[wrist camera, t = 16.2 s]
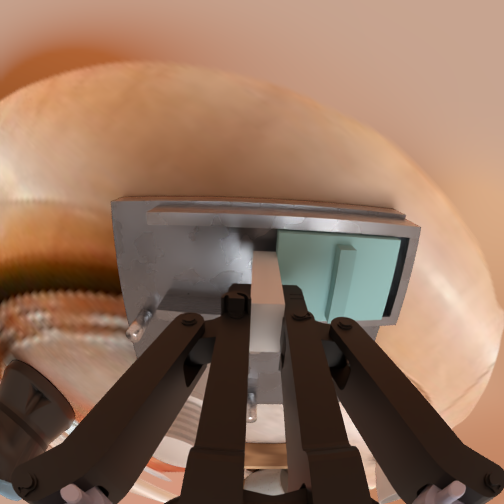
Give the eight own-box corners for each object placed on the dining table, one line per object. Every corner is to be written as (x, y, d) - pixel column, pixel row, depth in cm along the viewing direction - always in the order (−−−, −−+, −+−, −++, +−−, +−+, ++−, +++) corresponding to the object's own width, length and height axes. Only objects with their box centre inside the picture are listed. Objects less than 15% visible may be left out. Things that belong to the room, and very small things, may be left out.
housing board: (152, 379, 27) (139, 411, 22) (122, 196, 20) (89, 209, 15) (347, 387, 27) (357, 420, 22) (394, 209, 20) (426, 225, 15)
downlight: (259, 369, 23) (253, 464, 13) (209, 400, 25) (190, 481, 15) (190, 313, 22) (147, 405, 12) (146, 353, 23) (103, 432, 14)
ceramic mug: (240, 468, 35) (238, 505, 28) (278, 456, 33) (280, 497, 26) (280, 481, 38) (281, 513, 30) (316, 469, 35) (320, 504, 28)
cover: (271, 308, 19) (272, 329, 17) (277, 226, 17) (280, 238, 15) (374, 309, 19) (386, 327, 17) (391, 233, 17) (408, 245, 15)
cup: (416, 442, 34) (431, 482, 24) (385, 463, 36) (396, 501, 27) (392, 440, 32) (408, 486, 23) (359, 462, 35) (369, 505, 26)
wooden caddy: (225, 479, 37) (224, 496, 33) (221, 441, 31) (219, 464, 27) (305, 479, 37) (307, 496, 33) (327, 440, 31) (331, 462, 27)
